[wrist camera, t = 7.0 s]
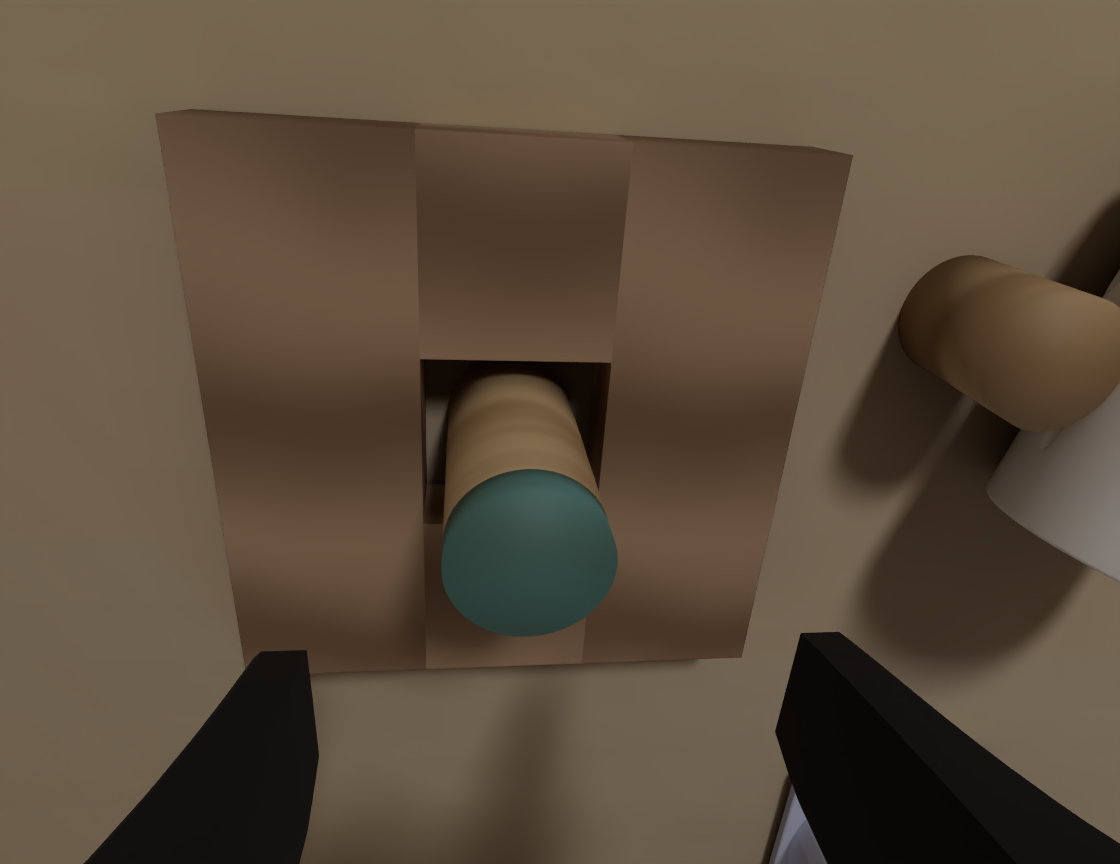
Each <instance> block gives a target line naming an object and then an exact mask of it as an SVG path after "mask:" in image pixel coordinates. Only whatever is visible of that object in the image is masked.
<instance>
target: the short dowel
mask: <svg viewBox="0 0 1120 864" xmlns="http://www.w3.org/2000/svg"><path fill="white" fill-rule="evenodd" d="M898 332H899V339H900V343H901V346H902V348H903V350H904V352H905V353H906V355H907V356H908V357H909V358H910V359H911V360H912V361H913V362H915V363H916V364H918V365H919V366H921V367H923V368H924V369H926V370H927V371H929V372H930V373H932V374H934V375H935V376H937V377H938V378H940V379H941V380H943V381H945V382H946V383H948V384H949V385H951V386H952V387H954V388H956V389H957V390H959V391H960V392H962V393H963V394H965V395H967V396H968V397H970V398H971V399H973V400H974V401H976V402H977V403H979V404H981V405H982V406H984V407H985V408H987V409H988V410H990V411H992V412H993V413H995V414H996V415H998V416H999V417H1001V418H1003V419H1004V420H1006V421H1007V422H1009V423H1010V424H1012V425H1014V426H1016V427H1018V428H1020V429H1023V430H1027V431H1036V432H1042V431H1051V430H1056V429H1059V428H1062V427H1065V426H1068V425H1070V424H1073V423H1075V422H1077V421H1078V420H1080V419H1082V418H1084V417H1085V416H1087V415H1088V414H1090V413H1091V412H1092V411H1094V410H1095V409H1096V408H1097V407H1099V406H1100V405H1101V404H1102V403H1103V402H1104V401H1105V400H1106V399H1107V398H1108V397H1109V395H1110V394H1111V393H1112V392H1113V391H1114V389H1115V388H1116V387H1117V385H1118V384H1119V382H1120V307H1118V306H1117V305H1116V304H1114V303H1113V302H1110V301H1108V300H1106V299H1103V298H1100V297H1098V296H1095V295H1092V294H1089V293H1086V292H1083V291H1080V290H1078V289H1075V288H1072V287H1069V286H1066V285H1063V284H1060V283H1057V282H1055V281H1052V280H1049V279H1046V278H1043V277H1040V276H1037V275H1035V274H1032V273H1029V272H1026V271H1023V270H1020V269H1017V268H1014V267H1012V266H1009V265H1006V264H1003V263H1000V262H997V261H994V260H992V259H989V258H986V257H982V256H975V255H967V256H960V257H956V258H952V259H949V260H947V261H945V262H943V263H941V264H939V265H937V266H936V267H934V268H933V269H931V270H930V271H929V272H927V273H926V274H925V275H924V276H923V277H922V278H921V279H920V280H919V281H918V282H917V283H916V284H915V286H914V287H913V288H912V290H911V291H910V293H909V294H908V296H907V298H906V300H905V302H904V304H903V307H902V310H901V313H900V317H899V325H898Z"/></svg>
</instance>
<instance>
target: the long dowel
mask: <svg viewBox="0 0 1120 864" xmlns="http://www.w3.org/2000/svg"><path fill="white" fill-rule="evenodd" d="M617 564H618V554H617V547H616V543H615V540H614V537H613V534H612V531H611V528H610V525H609V522H608V519H607V515H606V512H605V509H604V506H603V503H602V500H601V497H600V494H599V491H598V488H597V485H596V482H595V478H594V475H593V472H592V469H591V466H590V463H589V460H588V457H587V454H586V451H585V448H584V445H583V442H582V438H581V435H580V432H579V429H578V426H577V423H576V420H575V417H574V414H573V411H572V408H571V405H570V401H569V398H568V395H567V392H566V389H565V387H564V385H563V383H562V381H561V379H560V378H559V377H558V375H557V374H556V373H555V372H554V371H553V370H552V369H551V368H550V367H549V366H548V365H546V364H545V363H543V362H541V361H497V360H480V361H478V362H476V363H475V364H473V365H472V366H471V367H469V368H468V369H467V370H466V371H465V372H464V373H463V374H462V375H461V376H460V378H459V379H458V381H457V382H456V384H455V386H454V388H453V390H452V393H451V396H450V401H449V412H448V434H447V456H446V478H445V499H444V521H443V543H442V566H441V573H442V581H443V585H444V588H445V591H446V593H447V595H448V597H449V599H450V601H451V602H452V603H453V605H454V606H455V608H456V609H457V610H458V611H459V612H460V613H461V614H462V615H463V616H464V617H466V618H467V619H468V620H469V621H471V622H473V623H474V624H476V625H478V626H479V627H482V628H484V629H486V630H489V631H492V632H495V633H498V634H503V635H508V636H518V637H530V636H539V635H545V634H549V633H553V632H556V631H559V630H562V629H565V628H567V627H569V626H571V625H573V624H575V623H577V622H578V621H580V620H582V619H583V618H584V617H586V616H587V615H589V614H590V613H591V612H592V611H593V610H594V609H595V608H596V607H597V606H598V605H599V604H600V603H601V602H602V601H603V599H604V598H605V596H606V595H607V593H608V592H609V590H610V588H611V586H612V584H613V582H614V578H615V575H616V571H617Z"/></svg>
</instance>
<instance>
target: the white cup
mask: <svg viewBox="0 0 1120 864" xmlns="http://www.w3.org/2000/svg"><path fill="white" fill-rule="evenodd" d="M1103 299H1106V300H1108V301H1110V302H1113V303H1114V304H1116V305H1117V306H1118V307H1120V269H1119V271H1118V273H1117V274H1116V276H1115V277H1114V279H1113V280H1112V282H1111V283H1110V285H1109V287H1108V288H1107V290H1106V292H1105V294H1104V296H1103ZM985 490H986V493H987V495H988V496H989V498H990V499H991V500H992V502H993V503H994V504H995V505H996V506H997V507H998V508H999V509H1001V510H1002V511H1003V512H1004V513H1005V514H1006V515H1008V516H1009V517H1010V518H1011V519H1013V520H1014V521H1015V522H1017V523H1018V524H1020V525H1021V526H1022V527H1024V528H1025V529H1027V530H1028V531H1030V532H1031V533H1033V534H1034V535H1036V536H1037V537H1039V538H1041V539H1042V540H1044V541H1045V542H1047V543H1049V544H1050V545H1052V546H1053V547H1055V548H1057V549H1059V550H1060V551H1062V552H1064V553H1065V554H1067V555H1069V556H1071V557H1072V558H1074V559H1076V560H1078V561H1080V562H1081V563H1083V564H1085V565H1087V566H1089V567H1091V568H1093V569H1094V570H1096V571H1098V572H1100V573H1102V574H1104V575H1106V576H1108V577H1110V578H1112V579H1114V580H1116V581H1118V582H1120V382H1119V384H1118V385H1117V387H1116V388H1115V389H1114V391H1113V392H1112V393H1111V394H1110V395H1109V397H1108V398H1107V399H1106V400H1105V401H1104V402H1103V403H1102V404H1101V405H1100V406H1099V407H1097V408H1096V409H1095V410H1094V411H1092V412H1091V413H1090V414H1088V415H1087V416H1085V417H1084V418H1082V419H1080V420H1078V421H1077V422H1075V423H1073V424H1070V425H1068V426H1065V427H1062V428H1059V429H1056V430H1051V431H1042V432H1036V431H1027V430H1023V429H1020V430H1019V432H1018V434H1017V435H1016V437H1015V439H1014V440H1013V442H1012V444H1011V445H1010V447H1009V448H1008V450H1007V452H1006V453H1005V455H1004V457H1003V458H1002V460H1001V461H1000V463H999V465H998V466H997V468H996V470H995V471H994V473H993V474H992V476H991V478H990V479H989V481H988V483H987V484H986V487H985Z"/></svg>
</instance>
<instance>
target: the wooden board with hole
mask: <svg viewBox="0 0 1120 864" xmlns="http://www.w3.org/2000/svg"><path fill="white" fill-rule="evenodd" d="M155 116H156V122H157V128H158V134H159V140H160V146H161V152H162V159H163V165H164V171H165V177H166V183H167V189H168V196H169V202H170V208H171V214H172V220H173V226H174V233H175V239H176V245H177V251H178V257H179V263H180V269H181V276H182V282H183V288H184V294H185V300H186V306H187V313H188V319H189V325H190V331H191V337H192V343H193V349H194V356H195V362H196V368H197V374H198V380H199V386H200V393H201V399H202V405H203V411H204V417H205V423H206V430H207V436H208V442H209V448H210V454H211V460H212V466H213V473H214V479H215V485H216V491H217V497H218V503H219V510H220V516H221V522H222V528H223V534H224V540H225V547H226V553H227V559H228V565H229V571H230V577H231V583H232V590H233V596H234V602H235V608H236V614H237V620H238V627H239V633H240V639H241V645H242V651H243V657H244V663H245V669H246V668H247V666H248V665H249V664H250V662H251V661H252V659H253V658H254V657H255V656H256V655H258V654H259V653H260V652H261V651H289V650H307V655H308V664H309V673H336V672H363V671H390V670H417V669H444V668H471V667H498V666H524V665H551V664H578V663H605V662H632V661H659V660H686V659H713V658H740V657H742V653H743V648H744V644H745V639H746V635H747V630H748V626H749V621H750V617H751V612H752V608H753V603H754V599H755V594H756V590H757V585H758V581H759V576H760V572H761V567H762V563H763V558H764V554H765V549H766V545H767V540H768V536H769V531H770V527H771V522H772V518H773V513H774V509H775V504H776V500H777V495H778V491H779V486H780V482H781V477H782V473H783V468H784V464H785V459H786V455H787V450H788V446H789V441H790V437H791V432H792V428H793V423H794V419H795V414H796V410H797V405H798V401H799V396H800V392H801V387H802V383H803V378H804V374H805V369H806V365H807V360H808V356H809V351H810V347H811V342H812V338H813V333H814V329H815V324H816V320H817V315H818V311H819V306H820V302H821V297H822V293H823V288H824V284H825V279H826V275H827V270H828V266H829V261H830V257H831V252H832V248H833V243H834V239H835V234H836V230H837V225H838V221H839V216H840V212H841V207H842V203H843V198H844V194H845V189H846V185H847V180H848V176H849V171H850V167H851V162H852V158H853V155H849V154H844V153H839V152H835V151H830V150H825V149H820V148H815V147H804V146H788V145H771V144H755V143H738V142H722V141H705V140H689V139H672V138H656V137H639V136H623V135H606V134H590V133H573V132H557V131H540V130H524V129H508V128H491V127H475V126H458V125H442V124H425V123H409V122H392V121H376V120H359V119H343V118H326V117H310V116H293V115H277V114H260V113H244V112H228V111H211V110H195V109H189V110H181V111H173V112H165V113H157V114H155ZM425 359H443V360H497V361H551V362H595V369H594V380H593V392H592V403H591V414H590V425H589V436H588V448H587V457H588V460H589V463H590V466H591V469H592V472H593V475H594V478H595V482H596V485H597V488H598V491H599V494H600V497H601V500H602V503H603V506H604V509H605V512H606V515H607V519H608V522H609V525H610V528H611V531H612V534H613V537H614V540H615V543H616V547H617V554H618V564H617V571H616V575H615V578H614V582H613V584H612V586H611V588H610V590H609V592H608V593H607V595H606V596H605V598H604V599H603V601H602V602H601V603H600V604H599V605H598V606H597V607H596V608H595V609H594V610H593V611H592V612H591V613H590V614H589V615H587V616H586V617H584V618H583V619H582V620H580V621H578V622H577V623H575V624H573V625H571V626H569V627H567V628H565V629H562V630H559V631H556V632H553V633H549V634H545V635H539V636H530V637H518V636H508V635H503V634H498V633H495V632H492V631H489V630H486V629H484V628H482V627H479V626H478V625H476V624H474V623H473V622H471V621H469V620H468V619H467V618H466V617H464V616H463V615H462V614H461V613H460V612H459V611H458V610H457V609H456V608H455V606H454V605H453V603H452V602H451V601H450V599H449V597H448V595H447V593H446V591H445V588H444V585H443V581H442V573H441V566H442V543H443V521H444V499H445V484H427V463H426V409H425Z"/></svg>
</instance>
